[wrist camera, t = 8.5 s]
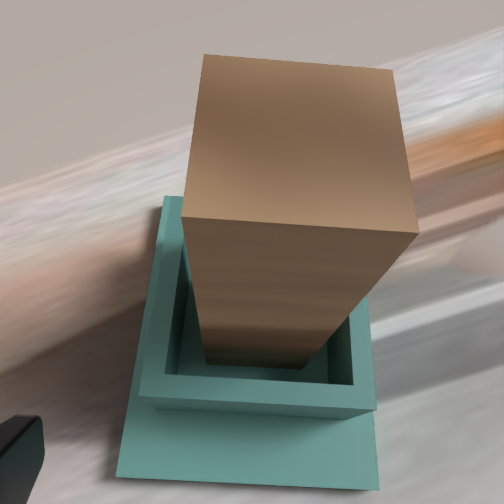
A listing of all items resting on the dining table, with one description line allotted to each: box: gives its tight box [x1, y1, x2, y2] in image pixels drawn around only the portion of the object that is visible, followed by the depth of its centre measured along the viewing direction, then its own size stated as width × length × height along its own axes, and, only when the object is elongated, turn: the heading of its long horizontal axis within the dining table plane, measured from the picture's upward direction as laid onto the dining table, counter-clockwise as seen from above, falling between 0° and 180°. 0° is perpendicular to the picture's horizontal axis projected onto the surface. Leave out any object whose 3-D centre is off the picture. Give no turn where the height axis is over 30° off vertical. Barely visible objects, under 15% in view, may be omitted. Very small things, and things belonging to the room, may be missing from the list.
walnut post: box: [181, 54, 419, 370], centre depth 14 cm, size 4×4×13 cm
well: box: [115, 196, 379, 491], centre depth 19 cm, size 14×11×5 cm
